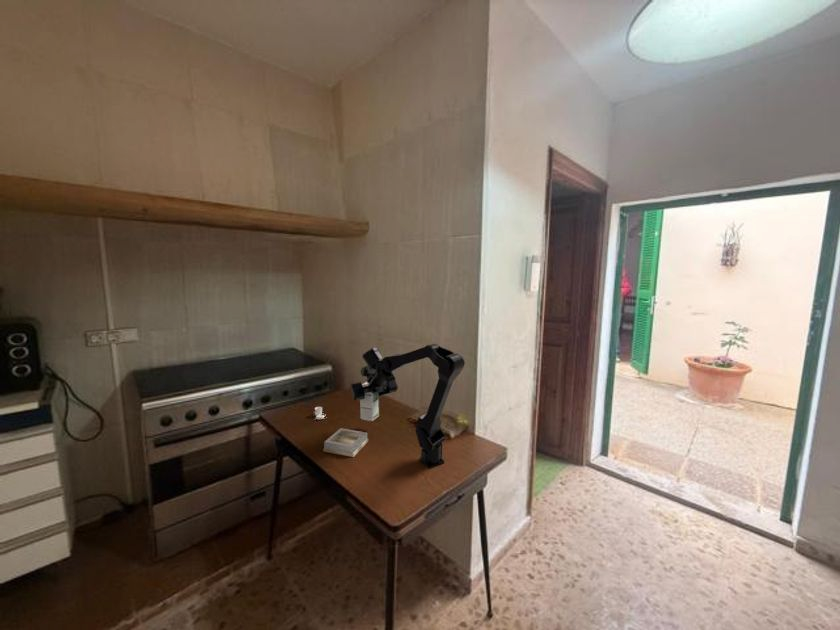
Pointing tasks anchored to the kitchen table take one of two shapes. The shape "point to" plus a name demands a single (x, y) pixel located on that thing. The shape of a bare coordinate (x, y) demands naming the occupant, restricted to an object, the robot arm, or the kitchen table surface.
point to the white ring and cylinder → (319, 413)
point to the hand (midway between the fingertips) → (368, 397)
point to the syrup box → (369, 405)
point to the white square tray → (346, 442)
